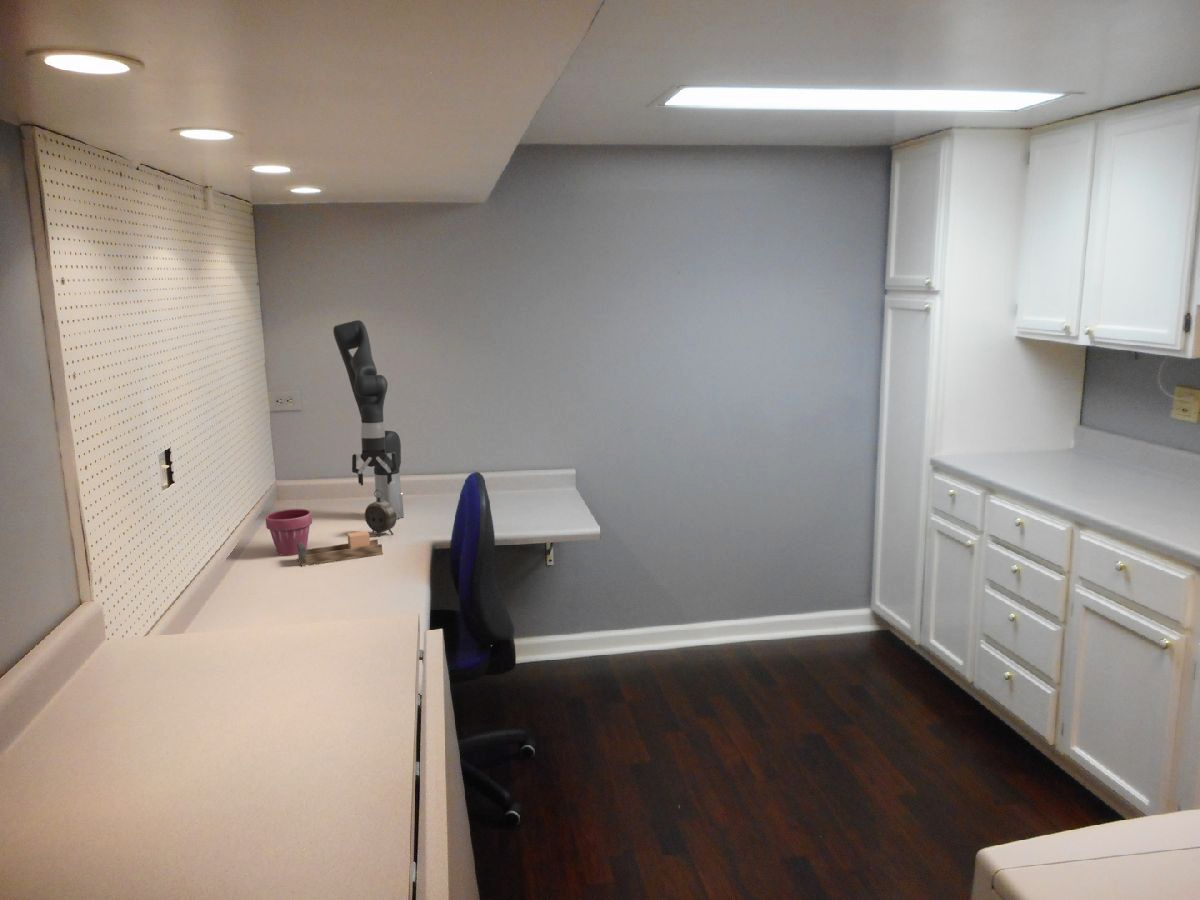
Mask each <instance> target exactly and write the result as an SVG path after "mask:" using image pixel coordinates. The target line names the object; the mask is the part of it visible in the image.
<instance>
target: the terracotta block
mask: <svg viewBox="0 0 1200 900" xmlns="http://www.w3.org/2000/svg"><path fill="white" fill-rule="evenodd" d="M370 540H371V539H370V533H369V532H368V531H367V530H362V531H356V532H348V533H347V542H348V543H347V544H348V546H349V549H351V548H358V547H365V546H370Z"/></svg>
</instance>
